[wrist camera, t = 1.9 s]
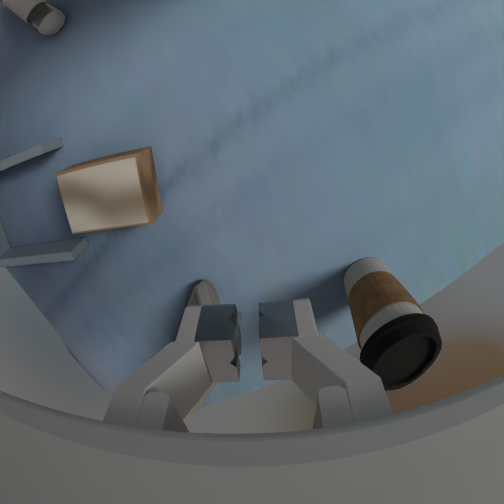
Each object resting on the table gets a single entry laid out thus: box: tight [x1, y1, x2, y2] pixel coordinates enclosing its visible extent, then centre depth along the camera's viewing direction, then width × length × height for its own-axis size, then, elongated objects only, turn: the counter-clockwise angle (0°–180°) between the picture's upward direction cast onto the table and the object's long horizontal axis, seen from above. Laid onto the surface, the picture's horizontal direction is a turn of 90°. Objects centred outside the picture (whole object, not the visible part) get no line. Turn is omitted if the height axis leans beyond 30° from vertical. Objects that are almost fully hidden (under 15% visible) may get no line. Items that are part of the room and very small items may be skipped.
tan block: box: [56, 147, 163, 234], centre depth 28 cm, size 7×10×5 cm
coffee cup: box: [344, 258, 442, 391], centre depth 29 cm, size 8×8×15 cm
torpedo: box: [2, 0, 65, 35], centre depth 15 cm, size 18×5×7 cm, turn 45°
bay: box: [0, 137, 88, 267], centre depth 29 cm, size 14×18×4 cm
